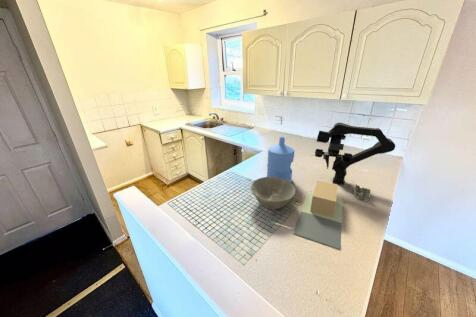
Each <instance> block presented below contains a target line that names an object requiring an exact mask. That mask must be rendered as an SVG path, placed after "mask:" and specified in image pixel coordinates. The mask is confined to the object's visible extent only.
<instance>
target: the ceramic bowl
mask: <svg viewBox="0 0 476 317" xmlns="http://www.w3.org/2000/svg"><path fill="white" fill-rule="evenodd" d="M250 190H251V193H252V195H254V197H255V199H256V200H257V202H258V204H259V206H260V205H261V206H262V207H263V208H265V209H268V210H278V209H280V208H282V207H284V206H286V205H287V204H288V203H289V202H290V201H291V200H292V199H293V198H294V196H295V194H296V187H295V186H294V184H293V183H291V182H289V181H287V180H285V179H282V178H277V177H267V176H265V177H260V178H257V179H255V180H253V182H252V183H251V185H250Z"/></svg>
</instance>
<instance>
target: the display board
mask: <svg viewBox="0 0 476 317" xmlns="http://www.w3.org/2000/svg"><path fill="white" fill-rule="evenodd" d="M313 193H314V191H309V190H307V193H306V196H305V199H304V202H303V205H302V207H301V210H300V212H299V216H298V219H297V222H296V225H295V228H294V230H293V233H292V234H293V235H296V236H298V237H302V238H305V239H307V240H309V241H313V242H316V243H319V244H322V245H325V246H328V247H331V248H334V249H337V250H338V251H339V250H341V248H342V247H341V246H342V245H341V243H342V227H343V226H342V225H343V206H344V199H343V198H339V197H336V204H335V208H334V213H333V217H329V216H325V215H322V214H318V213H315V212H311V211H310V209H311V203H312V197H313Z"/></svg>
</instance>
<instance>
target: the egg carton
mask: <svg viewBox="0 0 476 317" xmlns="http://www.w3.org/2000/svg"><path fill="white" fill-rule="evenodd" d="M358 192H359V194H358ZM353 194H354V198H356V199H357V200H359V199H361V200H363V201H366V202H369V200H370V198H371V189H370V188H367V187H366V188H364V187H360V185H357V184H355V187H354V190H353Z"/></svg>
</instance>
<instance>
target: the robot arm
mask: <svg viewBox="0 0 476 317" xmlns="http://www.w3.org/2000/svg"><path fill="white" fill-rule="evenodd" d="M346 135H359V136H366V137H368V136H369V137H375V138H376V139H377V142H376V143H374V145H373V146H371V147H369V148H367V149H364V150H362V151H359V152H357V153H355V154H352V153H348V152H344V154H340V151H343V150H344V147H345V146H344V145H345V144H344V143H342V140H343V141H345V140H346V138H347V136H346ZM316 142H317V143H322V144H327V143H329V146H328V149H327V151H324V149H321V148H316V149H315V151H314V156H315V157H316V158H322V159H323V160H325V163H326V169H327V170H328V169H329V166H330V165H329V164H330V157H332V158H335V159H334V161H333V162H332V167H331V168H332V169H331V170H333V171H334V177H332V184H336V185H345V180H346V179H345V178H346V176H347V169H348V168H349V167H350V166H352V165H354V164H357V163H358V162H361V161H363V160H366V159H368V158H371V157H373V156H375V155H380V154H381V155H382V154H383V155H384V154H387V153H391V152H393V151H394V150H395V148H396V143H395V142H394V141H393V140H392V139H391V138H388V137H387V136H386V135H385V134H384V133H383V130H382V129H380V128H379V127H378V128H377V127H366V126H356V125H355V126H354V125H353V126H352V125H350V124H348V123H347V124H346V123H344V122H336V123H334V124H333V127H332V128H330V130H329V131H324V130H319V131H318V135H317V137H316Z"/></svg>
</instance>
